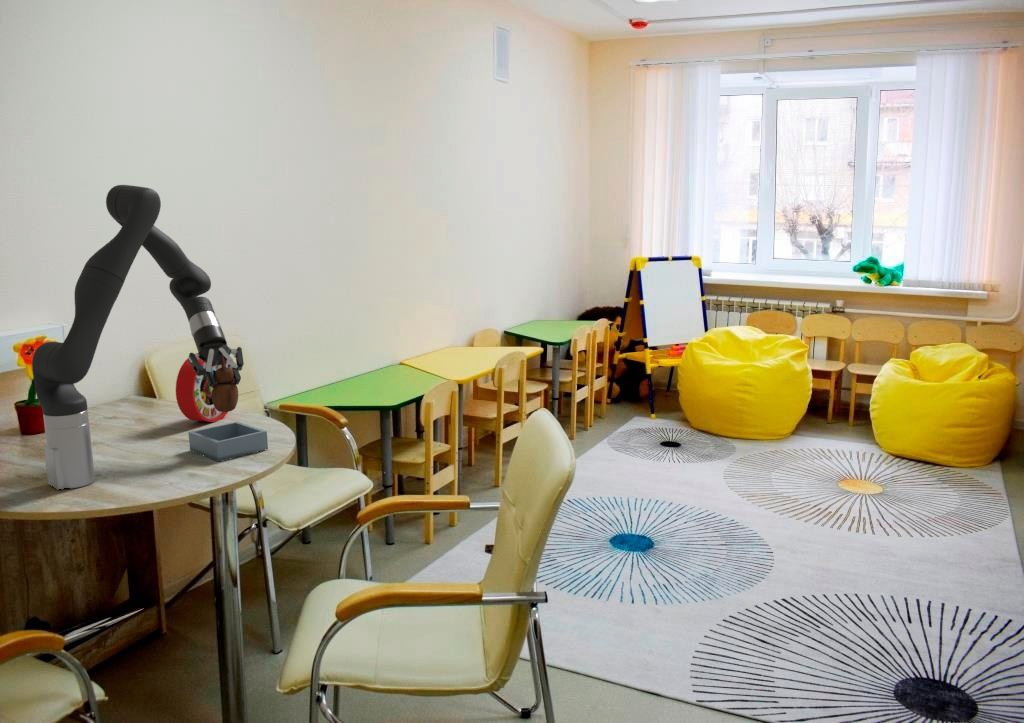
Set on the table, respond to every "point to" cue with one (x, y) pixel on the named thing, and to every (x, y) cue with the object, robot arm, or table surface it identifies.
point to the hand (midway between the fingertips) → (226, 384)
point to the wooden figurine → (224, 389)
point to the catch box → (228, 441)
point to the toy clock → (196, 394)
